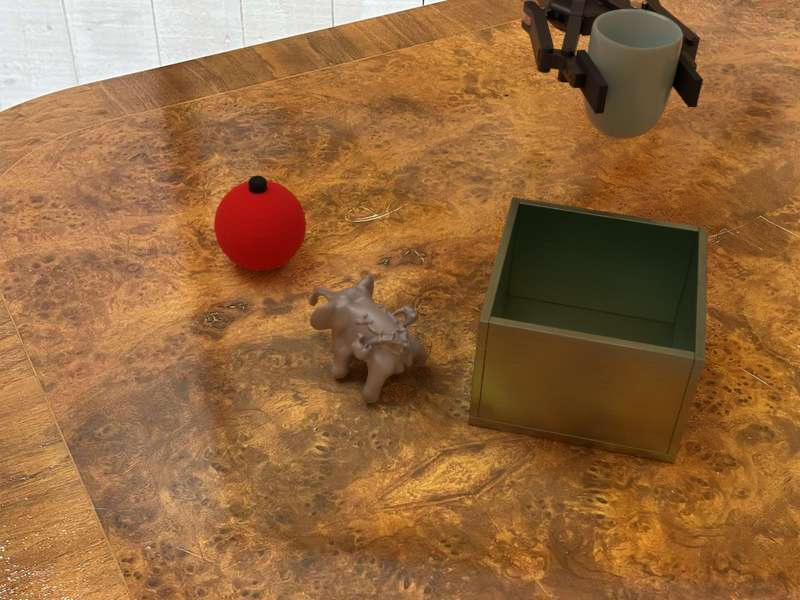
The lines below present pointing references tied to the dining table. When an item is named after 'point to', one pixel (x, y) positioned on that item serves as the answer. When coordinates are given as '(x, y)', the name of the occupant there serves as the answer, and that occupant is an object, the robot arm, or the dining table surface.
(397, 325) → the clay animal figurine
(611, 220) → the bin
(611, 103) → the cup
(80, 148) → the dining table surface
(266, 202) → the ornament
